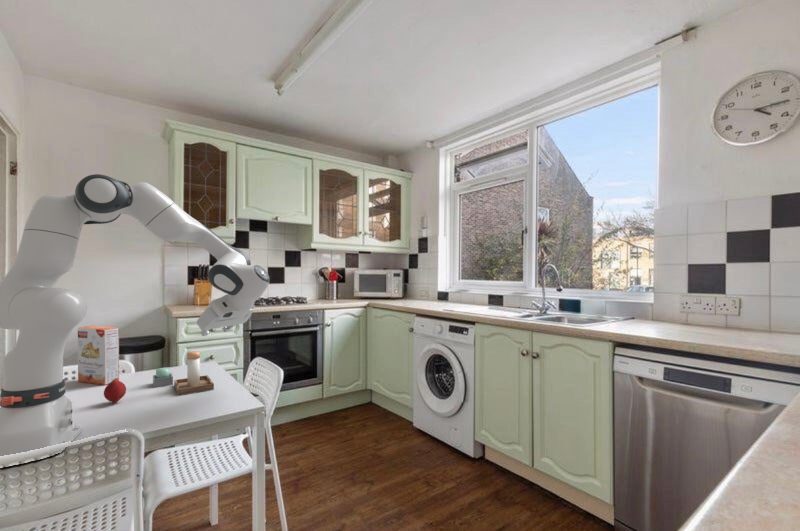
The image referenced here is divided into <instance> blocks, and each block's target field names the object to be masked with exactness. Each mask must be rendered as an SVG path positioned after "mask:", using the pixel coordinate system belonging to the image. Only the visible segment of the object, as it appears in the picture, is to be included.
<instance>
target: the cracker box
mask: <svg viewBox="0 0 800 531" xmlns="http://www.w3.org/2000/svg"><path fill="white" fill-rule="evenodd" d="M115 378H118V381H120V328H119V327H116V326H115V327H114V326H105V325H104V326H103V325H87V326H80V327H77V380H78V381H77V382H78V383H79V382H80V383H85V384H93V383H94V385H99V384H100V385H101V386H107V385H108V384H109V383H110V382H112V381H113V380H114V379H115ZM100 385H99V386H100Z"/></svg>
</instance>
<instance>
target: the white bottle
mask: <svg viewBox="0 0 800 531" xmlns="http://www.w3.org/2000/svg"><path fill="white" fill-rule="evenodd" d="M186 359H187V360H186V361H187V364H186V365H187V368H186V369H187V386H188V387H195V386H199V385H200V376H201V351H200V350H194V351H193V350H192V351H188V352H186Z"/></svg>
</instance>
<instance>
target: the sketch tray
mask: <svg viewBox="0 0 800 531" xmlns="http://www.w3.org/2000/svg"><path fill="white" fill-rule="evenodd" d="M173 385H174V388H176V389H175V392H176V394H177V396H182V395H183V394H184V395H188V394H189V393H190V394H195V393H194V392H196V393H200V392H201V391H202V392H207V390H208V391H213V389H214V390H215V388H214V387H215V384H214V382H213V381H212V379H211V378H210V375H208V374H206V375H200V385H199V386H195V387H188V386H187V378H180V379H175V380H174V379H173Z"/></svg>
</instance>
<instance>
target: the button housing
mask: <svg viewBox="0 0 800 531" xmlns="http://www.w3.org/2000/svg"><path fill="white" fill-rule="evenodd" d="M173 378H174V376H173V373H172V372H170V377H164V378H157V379H156V374H153V375H152V386H153V388H160V386H161V387H165V386H166V385H167V386H173V385H174V379H173Z"/></svg>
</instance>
